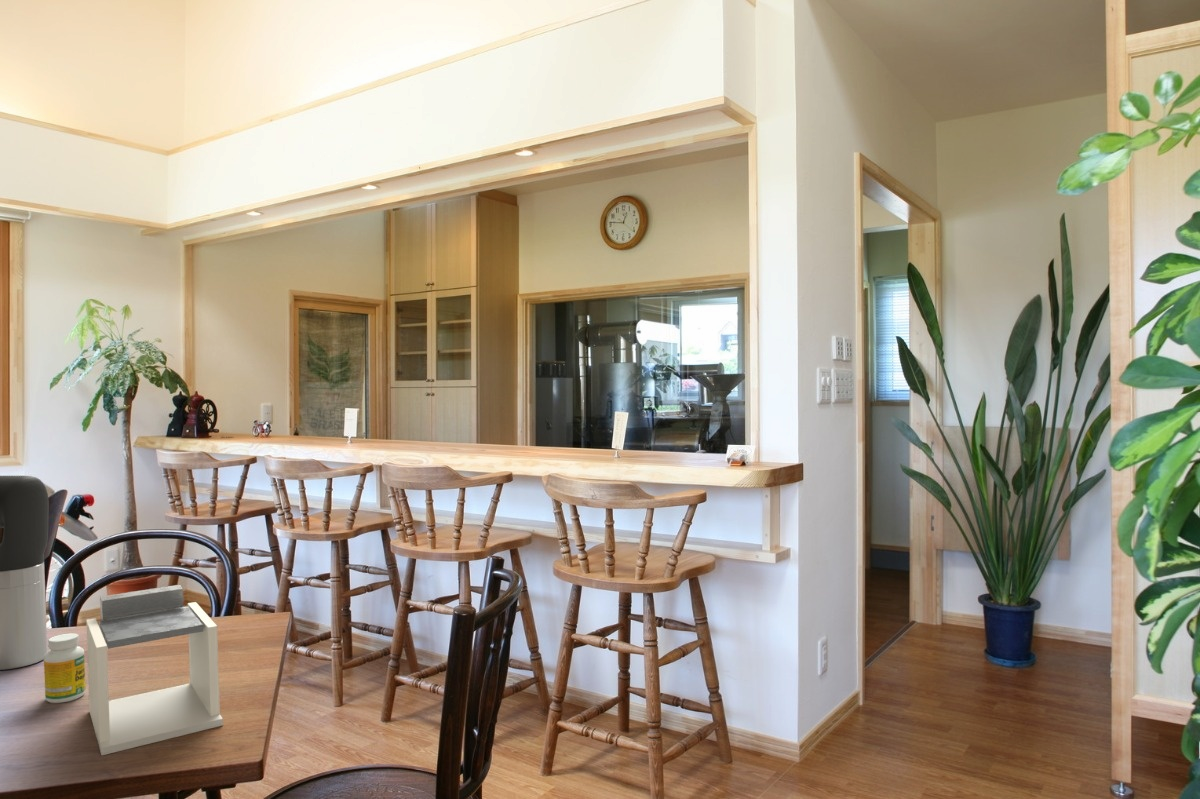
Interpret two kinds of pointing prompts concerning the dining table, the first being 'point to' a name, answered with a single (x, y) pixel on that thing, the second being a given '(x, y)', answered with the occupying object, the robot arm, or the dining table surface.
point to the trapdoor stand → (155, 695)
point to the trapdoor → (146, 616)
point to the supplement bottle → (64, 669)
